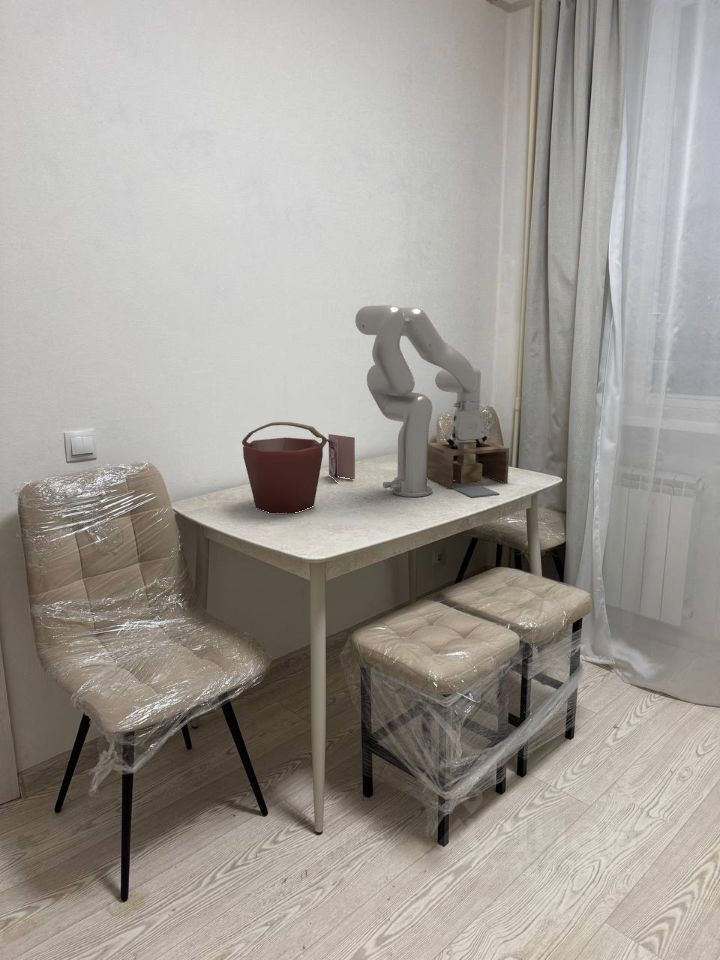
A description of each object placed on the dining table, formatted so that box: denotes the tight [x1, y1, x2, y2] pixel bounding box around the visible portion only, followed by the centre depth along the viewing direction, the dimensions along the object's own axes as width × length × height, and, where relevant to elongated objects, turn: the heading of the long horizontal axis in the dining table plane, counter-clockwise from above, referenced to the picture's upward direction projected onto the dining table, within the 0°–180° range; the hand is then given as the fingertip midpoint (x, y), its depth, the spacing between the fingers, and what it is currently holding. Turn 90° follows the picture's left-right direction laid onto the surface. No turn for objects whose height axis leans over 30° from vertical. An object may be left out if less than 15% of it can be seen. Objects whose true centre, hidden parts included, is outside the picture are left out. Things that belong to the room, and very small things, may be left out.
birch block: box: [457, 441, 476, 465], centre depth 226 cm, size 4×4×7 cm
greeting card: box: [326, 433, 356, 483], centre depth 228 cm, size 11×7×15 cm, turn 18°
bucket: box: [241, 421, 329, 514], centre depth 193 cm, size 24×22×25 cm
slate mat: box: [455, 485, 500, 499], centre depth 212 cm, size 10×10×1 cm
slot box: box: [427, 440, 510, 490], centre depth 226 cm, size 22×18×12 cm
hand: (466, 456), depth 226 cm, fingers open, 8 cm apart
